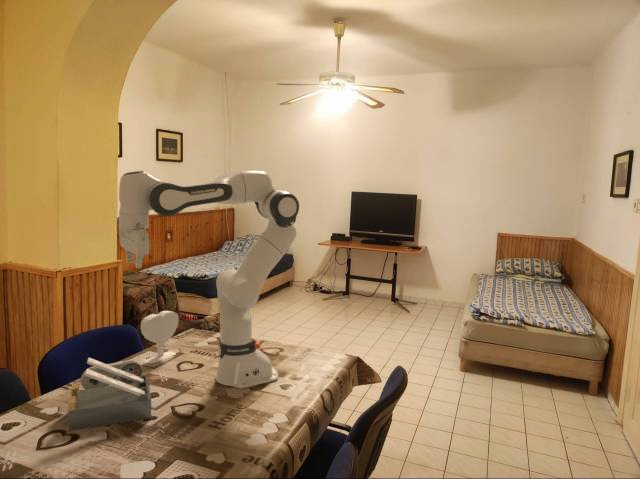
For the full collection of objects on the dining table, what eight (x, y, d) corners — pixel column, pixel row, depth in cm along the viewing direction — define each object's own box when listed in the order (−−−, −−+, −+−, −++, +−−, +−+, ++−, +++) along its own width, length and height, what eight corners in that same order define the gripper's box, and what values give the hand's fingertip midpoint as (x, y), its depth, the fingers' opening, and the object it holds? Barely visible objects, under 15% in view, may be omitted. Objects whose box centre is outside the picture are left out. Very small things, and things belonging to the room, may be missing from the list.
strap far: (142, 382, 153) (145, 379, 153) (143, 386, 150) (145, 383, 150) (86, 361, 145) (88, 357, 146) (85, 364, 143) (88, 361, 143)
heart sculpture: (171, 350, 198) (171, 308, 195) (180, 352, 195) (179, 310, 193) (139, 361, 184) (139, 316, 182) (148, 364, 182) (147, 319, 179)
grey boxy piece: (148, 397, 156) (148, 373, 154) (151, 419, 142) (151, 393, 141) (73, 408, 147) (72, 382, 146) (68, 432, 134) (67, 404, 133)
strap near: (144, 395, 145) (146, 391, 145) (144, 399, 142) (146, 395, 142) (84, 372, 137) (86, 368, 137) (83, 376, 134) (86, 372, 135)
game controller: (81, 394, 157) (81, 370, 155) (81, 391, 158) (80, 367, 157) (143, 382, 167) (143, 359, 166) (141, 379, 169) (141, 357, 168)
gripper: (154, 225, 145) (154, 270, 147) (135, 219, 161) (135, 259, 163) (133, 226, 141) (133, 271, 143) (115, 219, 157) (115, 260, 159)
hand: (134, 265), depth 153 cm, fingers open, 8 cm apart
